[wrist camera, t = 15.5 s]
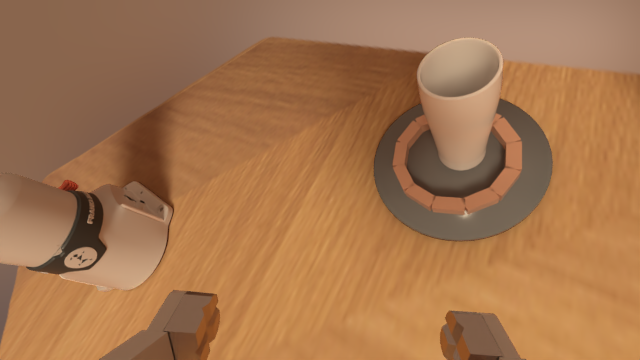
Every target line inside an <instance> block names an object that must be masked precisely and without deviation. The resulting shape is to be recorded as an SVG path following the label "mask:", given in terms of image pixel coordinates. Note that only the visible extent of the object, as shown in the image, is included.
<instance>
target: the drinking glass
mask: <svg viewBox="0 0 640 360" xmlns="http://www.w3.org/2000/svg"><path fill="white" fill-rule="evenodd" d="M502 78H503V57H502V54H501V52H500V51H499V49H498V48H497V47H496V46H495V45H493V44H492V43H490V42H488V41H486V40H483V39H479V38H459V39H454V40H450V41H448V42H445V43H443V44H441V45H439V46H437V47H436V48H434V49H433V50H431V51H430V52H429V53H428V54H427V55H426V56H425V57H424V58H423V60H422V61H421V63H420V65H419V67H418V70H417V82H418V90H419V96H420V101H421V105H422V109H423V112H424V115H425V118H426V121H427V123H428V126H429V128H430V131H431V134H432V137H433V139H434V142H435V145H436V148H437V152H438V156H439V159H440V160H441V162H442V163H443V164H444V165H445V166H446V167H448V168H450V169H453V170H458V171H464V170H469V169H472V168H474V167H476V166H477V165H478V164H480V163H481V162H482V160H483V159H484V157H485V154H486V148H487V143H488V139H489V135H490V132H491V128H492V125H493V121H494V118H495V115H496V111H497V108H498V104H499V99H500V94H501V88H502Z"/></svg>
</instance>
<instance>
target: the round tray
mask: <svg viewBox="0 0 640 360" xmlns="http://www.w3.org/2000/svg"><path fill="white" fill-rule="evenodd" d="M552 163H553V161H552V153H551V149H550V146H549V142H548V140H547V138H546V136H545V134H544V132H543V131H542V129H541V128H540V126H539V125H538V124H537V123H536V122H535V121H534V120H533V118H532V117H531V116H530V115H528V114H527V113H526V112H524V111H523V110H522V109H520V108H518V107H517V106H515V105H513V104H511V103H509V102H507V101H504V100H502V99H499V104H498V108H497V111H496V115H495V118H494V121H493V125H492V128H491V132H490V135H489V139H488V143H487V148H486V154H485V157H484V159H483V160H482V162H481V163H480V164H478V165H477V166H476V167H474V168H472V169H469V170H464V171H458V170H453V169H450V168H448V167H446V166H445V165H444V164H443V163H442V162H441V160H440V159H439V156H438V152H437V148H436V145H435V142H434V139H433V137H432V134H431V131H430V128H429V126H428V123H427V121H426V118H425V115H424V112H423V109H422V105H421V104H418V105H417V106H415V107H413V108H411V109H410V110H408V111H407V112H405V113H404V114H403V115H401V116H400V117H399V118H398V119H397V120H396V121H395V122H394V123H393V124H392V125H391V126H390V127H389V129H388V130H387V131H386V133H385V134H384V136H383V138H382V139H381V141H380V143H379V146H378V148H377V152H376V156H375V161H374V177H375V183H376V186H377V189H378V192H379V194H380V196H381V198H382V200H383V202H384V203H385V205H386V206H387V208H388V209H389V210H390V212H391V213H392V214H393V215H394V216H395V217H396V218H397V219H398V220H400V221H401V222H402V223H403V224H405V225H406V226H408V227H409V228H411V229H413V230H415V231H417V232H419V233H421V234H423V235H426V236H429V237H432V238H436V239H441V240H447V241H474V240H479V239H485V238H488V237H492V236H495V235H498V234H500V233H502V232H505V231H507V230H509V229H511V228H512V227H514V226H516V225H517V224H519V223H520V222H521V221H523V220H524V219H525V218H526V217H527V216H529V215H530V214H531V212H532V211H533V210H534V209H535V208H536V207H537V206H538V204H539V202H540V201H541V199H542V198H543V196H544V195H545V192H546V190H547V188H548V186H549V183H550V179H551V175H552Z"/></svg>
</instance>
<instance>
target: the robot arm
mask: <svg viewBox="0 0 640 360" xmlns="http://www.w3.org/2000/svg"><path fill="white" fill-rule="evenodd" d="M77 188H78V185H77V184H76V183H74V182H72V181H69V180H65V181H64V182H63V184H62V185H61V186H60V187H59V188H56V187H53V186H50V185H47V184H44V183H41V182H38V181H35V180H32V179H29V178H26V177H23V176H20V175H17V174H12V173H0V263H2V264H12V265H19V266H26V268H27V269H29V270H33V271H37V272H41V273H46V274H48V273H52V274H59V275H60V277H61V278H64V279H68V280H72V281H77V282H81V283H86V284H91V285H96V286H97V289H98V290H99V291H103V292H106V291H109V290H112V289H120V290H130V289H133V288H135V287H137V286H139V285H140V284H142V283H143V282H144V281H145V280H146V279H147V278H148V277H149V276H150V275H151V274H152V273H153V271H154V270H155V268H156V267H157V265H158V264H159V262H160V260H161V258H162V255H163V253H164V250H165V247H166V242H167V234H168V225H169V222H170V220H171V217H172V213H173V209H172V207H170V206H169V205H168V204H167V203H165V202H164V201H163V200H161V199H160V198H159V197H158V196H156V195H155V194H154V193H152V192H151V191H150V190H148V189H147V188H146V187H145V186H143V185H142V184H141V183H139V182H136V181H133V182H131V183H129V184H128V185H126V186H125V187H123V188H120V187H117V186H114V185H111V184H106V185H103V186H101V187H99V188H97V189H96V190H94V191H92V192H90V193H87V192H84V191H75V190H76V189H77ZM217 303H218V297H217V294H211V293H201V292H191V291H179V290H173V291H172V292H171V293H170V294H169V295H168V297H167V298H166V300H165V301H164V303H163V305H162V306H161V308H160V309H159V311H158V313H157V314H156V316H155V317H154V319H153V321H152V322H151V324H150V325H149V327H148V329H147V330H142V331H140V332H139V333H137V334H136V335H134V336H133V337H131V338H130V339H128V340H127V341H125V342H124V343H123V344H121V345H120V346H118V347H117V348H115V349H114V350H112V351H111V352H109V353H108V354H106V355H105V356H103V357H102V358H100V359H99V360H207V358H208V355H209V352H210V347H209V343H210V342H211V341H213V340H214V339H215V337H216V334H217V331H218V327H219V322H220V311H219V309H218V308H217V307H216V305H217ZM445 319H446V322H447V324H445V325H444V326H443V327H442V329H441V332H440V344H441V349H442V352H443V355H444V357H445V358H446V359H447V360H526V359H521V358H520V356H519V354H518V353H517V351H516V349H515V347H514V346H513V344H512V342H511V340H510V339H509V337H508V335H507V333H506V332H505V330H504V328H503V326H502V325H501V323H500V321H499V319H498V318H497V316H496V315H495V314H491V313H477V312H463V311H449V312H448V313H447V314H446V317H445Z"/></svg>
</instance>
